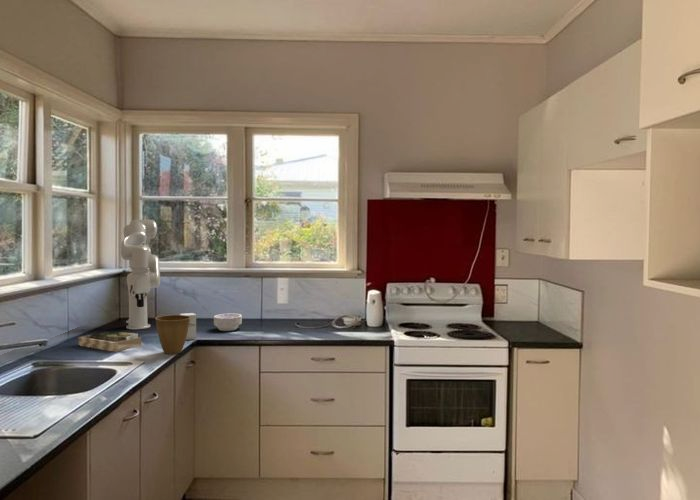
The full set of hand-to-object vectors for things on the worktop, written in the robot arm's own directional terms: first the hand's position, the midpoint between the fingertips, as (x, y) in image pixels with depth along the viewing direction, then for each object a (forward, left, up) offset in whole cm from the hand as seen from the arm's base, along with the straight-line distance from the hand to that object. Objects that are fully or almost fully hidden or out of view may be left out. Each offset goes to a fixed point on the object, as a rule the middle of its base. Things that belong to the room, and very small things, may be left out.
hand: (140, 306), depth 259 cm
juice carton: (+2, -16, -17) cm, 24 cm away
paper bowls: (+24, +39, -17) cm, 48 cm away
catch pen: (0, -18, -16) cm, 24 cm away
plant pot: (+38, -14, -16) cm, 43 cm away
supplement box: (+22, +11, -17) cm, 29 cm away
